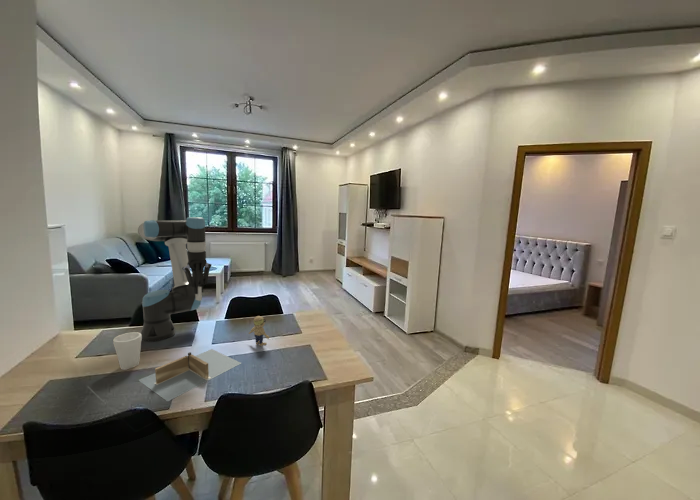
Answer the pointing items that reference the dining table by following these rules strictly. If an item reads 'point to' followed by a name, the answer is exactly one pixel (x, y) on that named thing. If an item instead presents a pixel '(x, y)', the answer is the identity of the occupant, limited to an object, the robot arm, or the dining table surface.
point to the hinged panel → (198, 365)
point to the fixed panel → (171, 369)
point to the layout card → (190, 376)
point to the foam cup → (128, 349)
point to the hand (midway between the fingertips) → (198, 299)
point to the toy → (259, 330)
